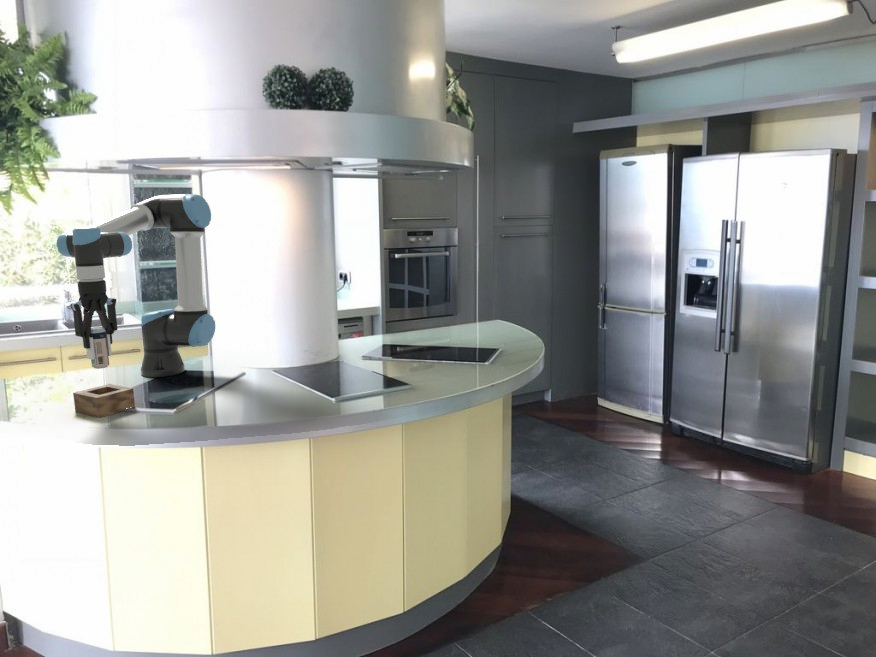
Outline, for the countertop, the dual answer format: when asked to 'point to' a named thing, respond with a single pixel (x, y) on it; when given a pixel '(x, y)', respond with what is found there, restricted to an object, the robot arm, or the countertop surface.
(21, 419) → the countertop surface
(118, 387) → the wooden box
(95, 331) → the beer can
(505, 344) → the countertop surface
